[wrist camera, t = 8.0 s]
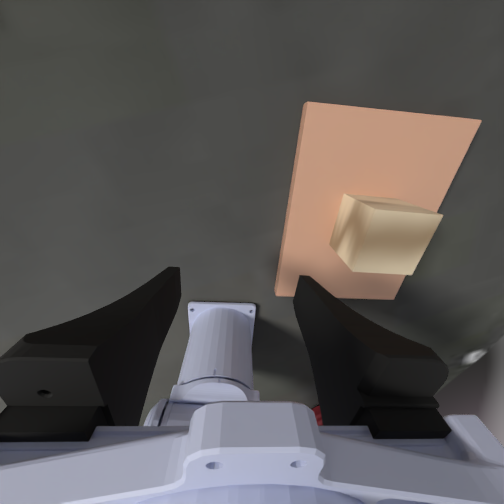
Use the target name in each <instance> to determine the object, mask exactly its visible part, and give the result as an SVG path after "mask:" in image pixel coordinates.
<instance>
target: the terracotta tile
mask: <svg viewBox="0 0 504 504" xmlns="http://www.w3.org/2000/svg"><path fill="white" fill-rule="evenodd" d="M481 121H482V120H476V119H467V118H457V117H448V116H439V115H429V114H420V113H410V112H401V111H391V110H382V109H373V108H363V107H354V106H344V105H335V104H325V103H316V102H307V103H305V104H304V105H303V111H302V118H301V124H300V130H299V137H298V143H297V150H296V156H295V162H294V169H293V175H292V181H291V188H290V194H289V200H288V207H287V213H286V219H285V226H284V232H283V238H282V245H281V251H280V257H279V264H278V270H277V276H276V283H275V289H274V290H275V294H276V296H293V297H294V295H295V291H296V287H297V283H298V279H299V275H307V276H310V277H312V278H313V279H314V280H315V281H317V282H318V283H319V284H320V285H321V286H322V287H324V288H325V289H326V290H327V291H328V292H330V293H331V294H332V295H333V296H334V297H336V298H354V299H385V300H394V298H395V296H396V294H397V292H398V290H399V288H400V286H401V284H402V282H403V280H404V278H405V276H406V275H400V274H383V273H366V272H352V270H351V269H350V268H349V267H348V266H347V265H346V264H345V262H344V261H343V260H342V259H341V258H340V257H339V255H338V254H337V253H336V252H335V251H334V250H333V248H332V247H331V246H330V245H329V243H330V239H331V236H332V232H333V229H334V225H335V222H336V219H337V215H338V212H339V208H340V205H341V201H342V198H343V194H354V195H365V196H375V197H386V198H397V199H399V200H402V201H405V202H408V203H411V204H413V205H416V206H419V207H422V208H425V209H427V210H430V211H433V212H436V213H437V211H438V209H439V207H440V205H441V203H442V200H443V198H444V196H445V194H446V192H447V190H448V188H449V186H450V184H451V182H452V180H453V178H454V176H455V174H456V172H457V170H458V168H459V166H460V164H461V162H462V160H463V158H464V156H465V154H466V152H467V150H468V148H469V146H470V144H471V141H472V139H473V137H474V135H475V133H476V131H477V129H478V127H479V125H480V123H481Z"/></svg>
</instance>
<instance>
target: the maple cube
mask: <svg viewBox="0 0 504 504" xmlns="http://www.w3.org/2000/svg"><path fill="white" fill-rule="evenodd" d="M442 217H443V215H441V214H438V213H436V212H433V211H430V210H427V209H425V208H422V207H419V206H416V205H413V204H411V203H408V202H405V201H402V200H399V199H397V198H386V197H375V196H365V195H354V194H343V198H342V201H341V205H340V208H339V212H338V215H337V219H336V222H335V225H334V229H333V232H332V236H331V239H330V243H329V245H330V246H331V247H332V248H333V250H334V251H335V252H336V253H337V254H338V255H339V257H340V258H341V259H342V260H343V261H344V262H345V264H346V265H347V266H348V267H349V268H350V269H351V270H352V272H366V273H383V274H400V275H412V274H413V272H414V270H415V268H416V266H417V264H418V263H419V261H420V259H421V257H422V255H423V253H424V251H425V249H426V247H427V245H428V244H429V242H430V240H431V238H432V236H433V234H434V232H435V230H436V228H437V226H438V225H439V223H440V221H441V219H442Z"/></svg>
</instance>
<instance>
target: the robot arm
mask: <svg viewBox="0 0 504 504" xmlns="http://www.w3.org/2000/svg"><path fill="white" fill-rule="evenodd" d="M180 298H181V281H180V267H168V268H166V269H165V270H164V271H162V272H161V273H159V274H158V275H157V276H155V277H154V278H153V279H151V280H150V281H148V282H147V283H145V284H144V285H142V286H141V287H139V288H138V289H136V290H135V291H133V292H131V293H130V294H128V295H126V296H125V297H123V298H121V299H119V300H117V301H115V302H113V303H111V304H109V305H107V306H105V307H103V308H100V309H98V310H96V311H94V312H91V313H89V314H87V315H84V316H82V317H79V318H76V319H74V320H71V321H68V322H65V323H62V324H59V325H56V326H53V327H50V328H46V329H43V330H40V331H36V332H33V333H29V334H26V335H25V336H24V337H23V338H22V339H20V340H19V341H18V342H17V343H16V344H15V345H14V346H13V347H11V348H10V349H9V350H8V351H7V352H6V353H5V354H4V355H2V356H1V357H0V396H1V398H2V399H3V401H4V402H5V403H6V405H7V407H6V408H5V409H4V410H3V411H2V412H1V414H0V504H504V447H503V446H502V444H501V443H500V442H499V441H498V440H497V439H496V438H495V436H494V435H493V434H492V433H491V432H490V431H489V429H488V428H487V427H486V426H485V425H484V424H483V423H482V421H481V420H480V419H479V418H478V417H477V416H476V415H473V414H451V415H446V416H443V417H442V416H441V415H440V414H439V412H438V411H437V409H436V408H438V407H439V404H438V402H437V401H436V400H435V398H434V397H433V395H434V394H435V393H436V392H437V391H438V389H439V388H440V387H441V386H442V385H443V384H444V382H445V381H446V379H447V377H448V372H449V371H448V367H447V365H446V364H445V363H444V362H443V361H442V360H441V359H440V358H439V357H438V355H437V354H436V353H435V352H434V351H433V350H432V349H431V348H429V347H427V346H424V345H422V344H419V343H417V342H414V341H411V340H409V339H406V338H404V337H402V336H400V335H398V334H395V333H393V332H391V331H389V330H387V329H385V328H383V327H381V326H379V325H377V324H375V323H374V322H372V321H370V320H368V319H366V318H365V317H363V316H361V315H360V314H358V313H357V312H355V311H354V310H352V309H351V308H349V307H348V306H346V305H345V304H344V303H342V302H341V301H340V300H338V299H337V298H336V297H334V296H333V295H332V294H331V293H330V292H328V291H327V290H326V289H325V288H324V287H322V286H321V285H320V284H319V283H318V282H317V281H315V280H314V279H313V278H312V277H310V276H307V275H299V279H298V283H297V287H296V291H295V295H294V299H293V304H294V309H295V314H296V318H297V321H298V324H299V327H300V330H301V332H302V335H303V338H304V341H305V344H306V347H307V350H308V353H309V357H310V361H311V366H312V370H313V374H314V379H315V384H316V389H317V394H318V400H319V405H320V410H321V417H322V423H323V426H318V425H317V421H316V418H315V414H314V411H313V410H311V409H310V408H309V407H307V406H306V405H304V404H303V403H298V402H292V401H260V399H259V391H256V390H254V389H253V369H252V349H251V347H252V339H253V330H254V321H255V312H256V305H255V304H253V303H223V302H189V304H188V315H189V328H190V338H189V341H188V345H187V349H186V353H185V356H184V360H183V364H182V368H181V372H180V375H179V379H178V383H177V385H174V386H173V388H172V392H171V395H170V399H161V400H160V401H159V402H158V403H157V404H156V405H155V406H154V407H153V408H152V409H151V410H150V412H149V414H148V416H147V418H146V421H145V423H144V426H138V425H139V421H140V418H141V414H142V410H143V406H144V403H145V399H146V395H147V392H148V388H149V385H150V381H151V378H152V375H153V371H154V368H155V365H156V362H157V359H158V355H159V352H160V350H161V347H162V344H163V342H164V340H165V337H166V335H167V333H168V330H169V328H170V326H171V324H172V321H173V319H174V317H175V314H176V312H177V309H178V306H179V302H180ZM250 310H253V311H250Z"/></svg>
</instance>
